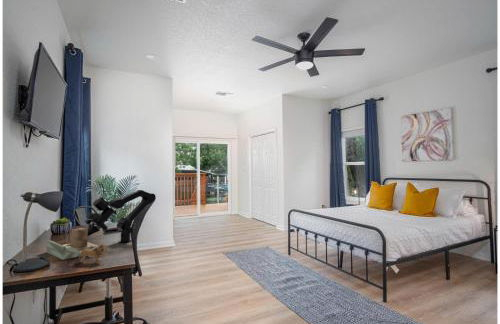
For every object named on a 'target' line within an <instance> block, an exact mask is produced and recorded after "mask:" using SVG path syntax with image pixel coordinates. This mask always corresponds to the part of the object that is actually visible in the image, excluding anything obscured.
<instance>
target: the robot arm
mask: <svg viewBox="0 0 500 324" xmlns="http://www.w3.org/2000/svg"><path fill="white" fill-rule="evenodd" d="M156 197H157V196H156V194H155V193H150V192H147V191H146V190H145V191H144V190H142V189H137V190H135V191H134V192H131V193H128V194H127V195H124V196H121V197H117V198H113V199H111V200H110V201H106V200H105V198H104V197H102V196H101V197H99V198H98V199H96V200H94V201H93V203H92V206H93V207H95V209H97V211H99V212H100V213H97V212H87V214H86V216H85V218H86V219H85V221H84V223H85V224H86V225H87V226H88V227H87V229H88V237H90V236H91V235H94V234H96V233H98V232H100V231H101V230H102V231H103V232H107V230H108V229H109V228H108V226H107V225H106V222H109V219H110V218H111V217H112V215H114V216H116V215H118V214H117V210H119V209H121V208H123V207H124V206H125V204H127V203H129V202H131V201H133V200H136V199H138V198H141V201H140V202H139V203H138V204H137V205H136V206H135V207H134V208H133V210H132V211H131V212H130V213H129V214H127V216H126V217H121V218H120V220H119V219H118V220H117V223H116V229H117V230H118V232H119V233H120V240H119V241H118V243H122V244H123V243H126V244H127V243H130V242H132V241H133V239H131V234H132V233H133V232H134V228H132V225H133V221H134V220H135V219H136V218H137V217H138V216H139V215H140V214H141V213H142V212H143V210H144V209H145V208H146V207H147V206H148V205H150V204H152V203H153V202H155V201H156ZM114 209H115V210H114ZM87 218H88V219H87Z"/></svg>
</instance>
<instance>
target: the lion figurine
mask: <svg viewBox="0 0 500 324" xmlns="http://www.w3.org/2000/svg"><path fill="white" fill-rule="evenodd" d="M98 246H99V247H96V248H95V249H94V250H88V249H84V250H83V251H82V252H81V254H80V256H78V259H77V260H75V263H78V262H79V261H80V262H81V263H83V264H84V265H85V264H87V261H85V259H86V257H89V258H95V263H96V264H99V263H100V259H99V258H100V257H103V255H105V254H106V253H107V252H108V245H107V244H104V243H103V244H100V245H98ZM81 255H82V256H81Z"/></svg>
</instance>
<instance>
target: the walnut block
mask: <svg viewBox="0 0 500 324" xmlns="http://www.w3.org/2000/svg"><path fill="white" fill-rule="evenodd" d="M88 237H89V236H88V228H85V227H80V228H72V229H71V235H70V244H71V247H73V248H76V249H77V248H82V247H87V242H88Z"/></svg>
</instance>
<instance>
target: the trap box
mask: <svg viewBox="0 0 500 324" xmlns="http://www.w3.org/2000/svg"><path fill="white" fill-rule="evenodd" d="M99 246H100V245H97V244H94V243H91V242H89V241H87V247H82V248H77V249H76V248H73V247H71V243H66V244H61V243H57V242H56V241H53V240H50V239H49V240H46V253H47V254H49V255H52V256H54V257H56V258H58V259H60V260H62V261H64V260H68V259H74V258H77V257H78V258H79V257H80V254H81V252H82V251H83V250H84V249H88V250H94V249H95V248H96V247H99ZM81 257H82V255H81Z"/></svg>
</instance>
